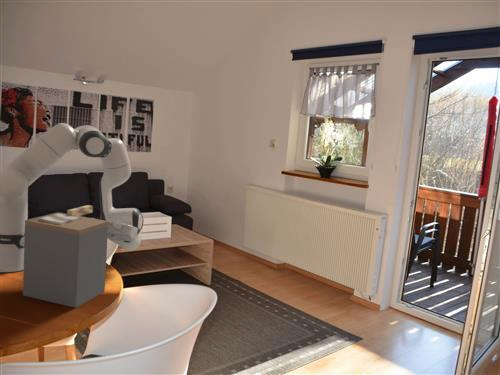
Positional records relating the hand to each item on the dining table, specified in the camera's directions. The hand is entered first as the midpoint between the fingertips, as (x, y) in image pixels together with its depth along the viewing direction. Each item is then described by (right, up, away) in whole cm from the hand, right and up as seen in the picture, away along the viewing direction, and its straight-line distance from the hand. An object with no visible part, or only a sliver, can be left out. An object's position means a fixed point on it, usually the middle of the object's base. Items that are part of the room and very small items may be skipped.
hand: (102, 221), depth 181 cm
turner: (-5, +3, -19) cm, 20 cm away
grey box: (-6, -24, -21) cm, 32 cm away
